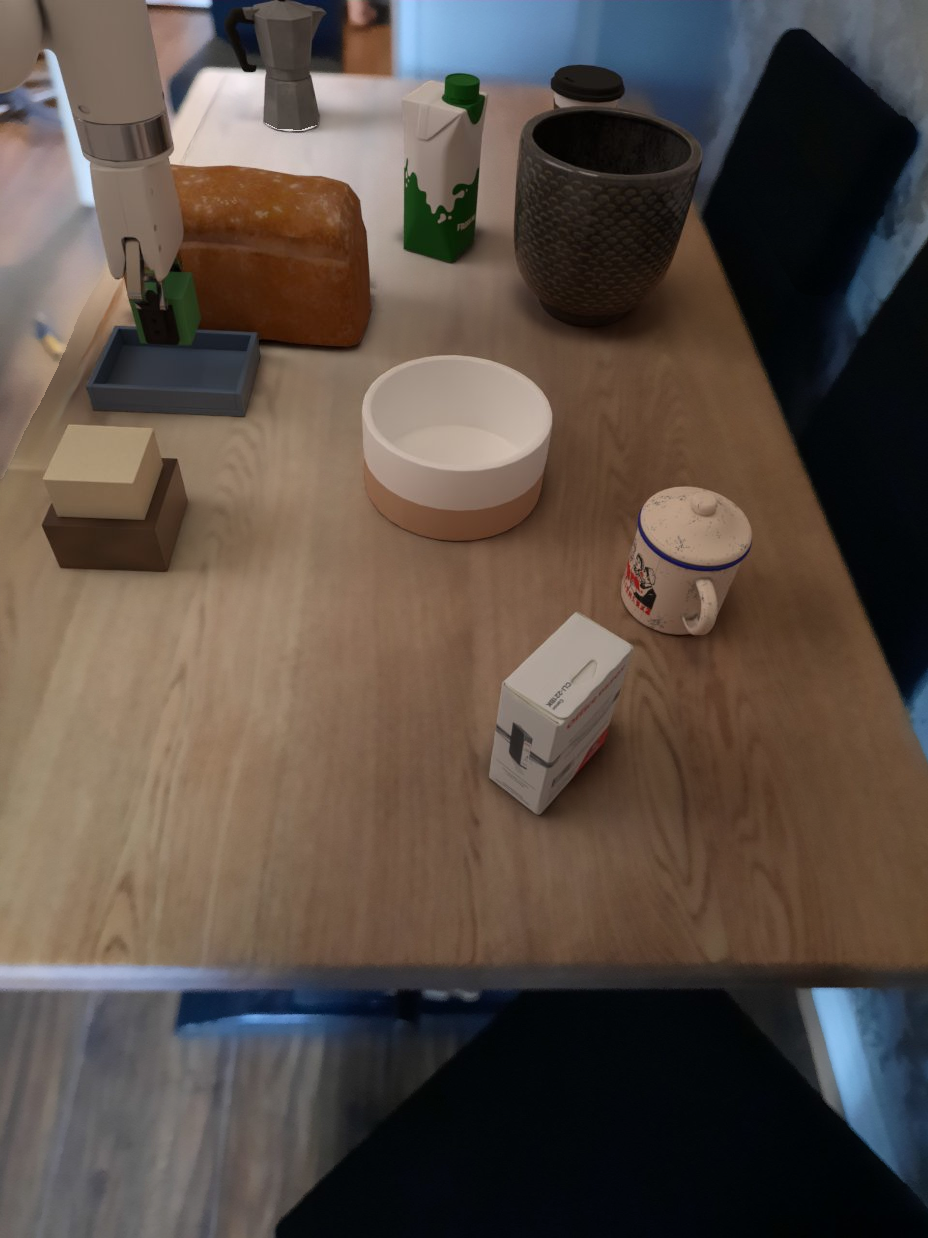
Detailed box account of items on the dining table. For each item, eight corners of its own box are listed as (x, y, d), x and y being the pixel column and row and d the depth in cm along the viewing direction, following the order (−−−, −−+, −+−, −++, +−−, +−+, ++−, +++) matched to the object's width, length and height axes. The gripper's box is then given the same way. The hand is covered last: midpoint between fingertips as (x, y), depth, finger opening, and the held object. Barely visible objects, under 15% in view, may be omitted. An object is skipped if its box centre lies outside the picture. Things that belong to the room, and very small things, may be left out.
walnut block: (59, 567, 73) (41, 525, 69) (88, 496, 78) (73, 453, 75) (167, 571, 73) (154, 529, 69) (188, 500, 79) (177, 458, 75)
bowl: (339, 445, 85) (335, 373, 79) (494, 410, 90) (502, 340, 84) (403, 562, 75) (404, 490, 69) (572, 515, 81) (588, 444, 74)
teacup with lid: (608, 561, 77) (635, 460, 68) (705, 560, 78) (745, 459, 69) (635, 668, 69) (671, 570, 60) (743, 665, 70) (793, 568, 61)
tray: (92, 409, 87) (85, 386, 84) (120, 348, 94) (114, 324, 92) (244, 416, 87) (240, 393, 85) (260, 354, 95) (257, 332, 92)
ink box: (553, 705, 67) (578, 605, 57) (605, 742, 65) (639, 644, 56) (484, 777, 62) (499, 681, 53) (538, 818, 60) (563, 726, 51)
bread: (162, 274, 104) (131, 136, 92) (376, 292, 104) (373, 157, 92) (127, 336, 95) (88, 192, 83) (361, 355, 96) (355, 215, 84)
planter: (670, 280, 111) (711, 120, 96) (651, 362, 98) (696, 192, 84) (522, 253, 113) (540, 93, 99) (486, 329, 101) (501, 158, 86)
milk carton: (455, 268, 109) (464, 95, 94) (392, 250, 112) (392, 77, 96) (483, 240, 115) (496, 72, 100) (423, 223, 117) (427, 56, 102)
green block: (140, 343, 84) (127, 296, 81) (151, 316, 88) (140, 269, 84) (191, 345, 85) (181, 298, 81) (201, 318, 88) (191, 272, 84)
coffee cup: (569, 183, 128) (582, 94, 119) (527, 155, 134) (536, 68, 124) (625, 170, 132) (642, 83, 123) (581, 143, 138) (594, 58, 129)
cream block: (57, 517, 69) (41, 479, 66) (81, 461, 74) (68, 423, 71) (144, 520, 70) (133, 483, 67) (163, 465, 74) (153, 427, 71)
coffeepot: (322, 106, 141) (314, -27, 128) (341, 128, 136) (334, -8, 122) (230, 115, 137) (211, -22, 123) (245, 138, 131) (227, -2, 118)
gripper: (105, 91, 77) (151, 281, 91) (48, 172, 66) (109, 374, 80) (190, 96, 77) (222, 285, 91) (146, 177, 67) (190, 378, 80)
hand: (169, 325), depth 86 cm, fingers closed on green block, 5 cm apart
